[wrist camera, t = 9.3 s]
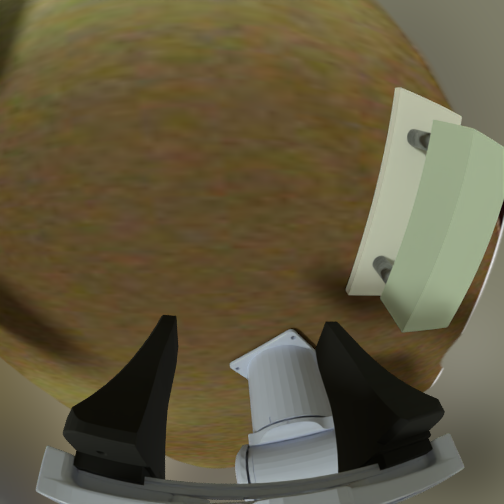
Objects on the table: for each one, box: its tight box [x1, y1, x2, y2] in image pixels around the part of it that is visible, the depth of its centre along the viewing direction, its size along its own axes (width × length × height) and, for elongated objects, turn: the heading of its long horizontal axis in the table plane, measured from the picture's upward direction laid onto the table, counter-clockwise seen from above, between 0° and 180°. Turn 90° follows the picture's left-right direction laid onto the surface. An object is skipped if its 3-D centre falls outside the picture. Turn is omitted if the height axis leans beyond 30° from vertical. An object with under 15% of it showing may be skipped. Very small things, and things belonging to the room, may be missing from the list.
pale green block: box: [380, 120, 504, 332], centre depth 16 cm, size 14×5×4 cm, turn 173°
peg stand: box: [346, 88, 462, 295], centre depth 19 cm, size 18×7×4 cm, turn 173°
